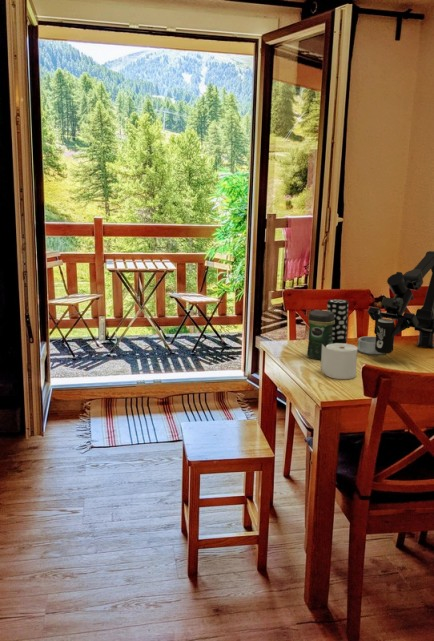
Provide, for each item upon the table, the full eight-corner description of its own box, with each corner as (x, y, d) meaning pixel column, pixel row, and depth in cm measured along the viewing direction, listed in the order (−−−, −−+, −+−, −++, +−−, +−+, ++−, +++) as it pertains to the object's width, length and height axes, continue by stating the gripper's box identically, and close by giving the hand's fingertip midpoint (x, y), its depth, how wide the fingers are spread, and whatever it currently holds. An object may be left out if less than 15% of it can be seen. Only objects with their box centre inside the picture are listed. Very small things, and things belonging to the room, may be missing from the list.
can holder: (359, 346, 226) (360, 335, 225) (388, 349, 221) (389, 338, 220) (354, 353, 215) (355, 341, 214) (384, 356, 211) (385, 344, 210)
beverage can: (394, 354, 200) (396, 322, 198) (375, 353, 202) (377, 322, 199) (392, 349, 207) (394, 318, 204) (374, 348, 208) (376, 318, 205)
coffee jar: (335, 357, 210) (338, 310, 206) (327, 362, 204) (329, 313, 200) (312, 353, 216) (314, 307, 212) (304, 357, 209) (305, 310, 205)
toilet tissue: (357, 380, 183) (359, 351, 181) (321, 378, 185) (322, 350, 183) (354, 370, 194) (356, 343, 191) (320, 369, 196) (321, 342, 193)
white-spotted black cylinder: (342, 353, 215) (344, 303, 211) (322, 350, 220) (324, 301, 215) (348, 348, 222) (351, 300, 218) (329, 345, 227) (331, 298, 222)
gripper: (371, 286, 208) (353, 318, 203) (417, 292, 195) (399, 327, 190) (381, 303, 215) (364, 335, 210) (426, 310, 202) (409, 344, 197)
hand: (383, 335), depth 202 cm, fingers closed on beverage can, 6 cm apart
